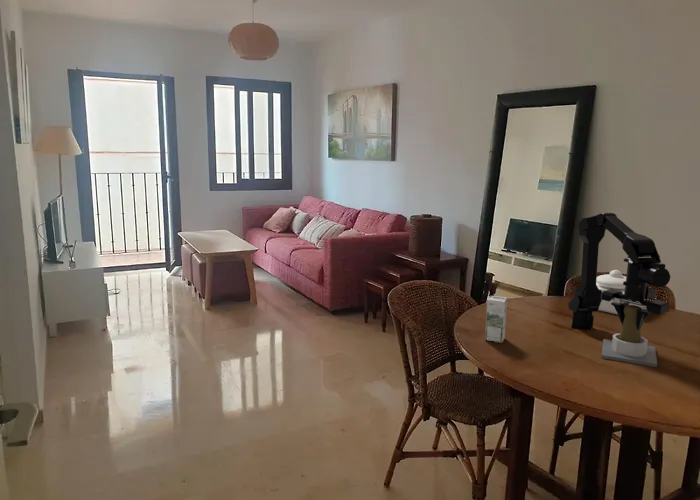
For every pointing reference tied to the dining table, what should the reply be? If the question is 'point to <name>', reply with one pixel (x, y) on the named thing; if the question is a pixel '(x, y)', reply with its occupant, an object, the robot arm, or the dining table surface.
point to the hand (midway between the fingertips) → (631, 327)
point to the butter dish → (611, 282)
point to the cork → (630, 325)
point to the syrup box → (496, 319)
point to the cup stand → (629, 351)
